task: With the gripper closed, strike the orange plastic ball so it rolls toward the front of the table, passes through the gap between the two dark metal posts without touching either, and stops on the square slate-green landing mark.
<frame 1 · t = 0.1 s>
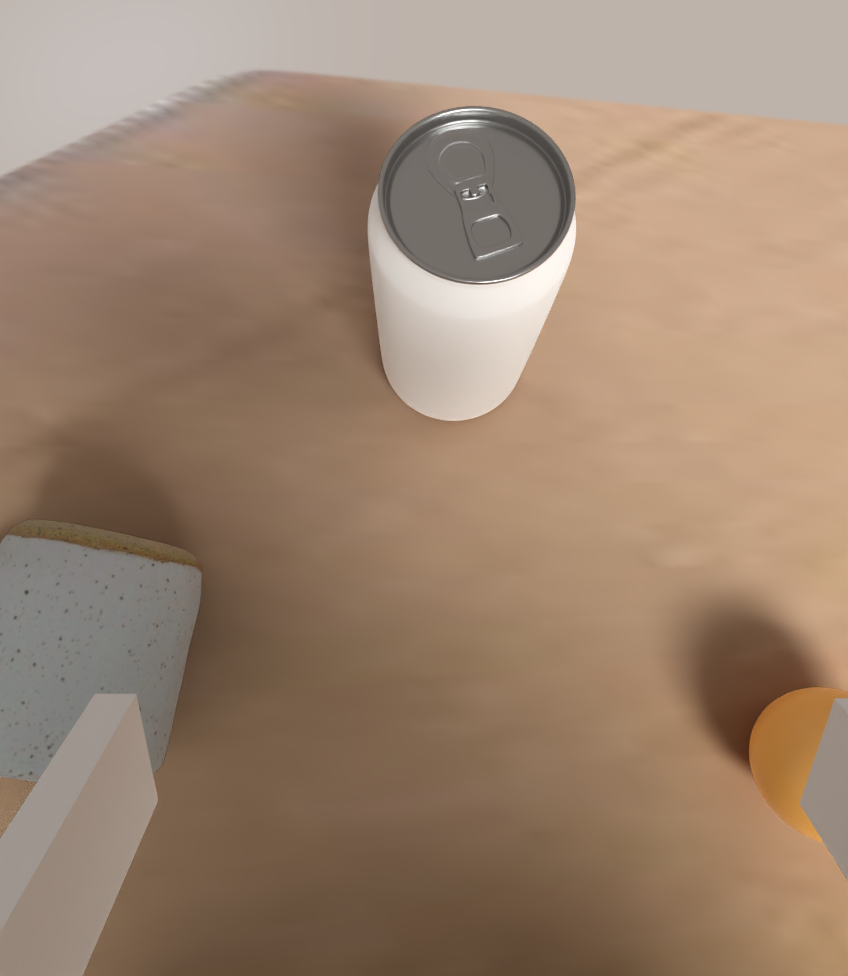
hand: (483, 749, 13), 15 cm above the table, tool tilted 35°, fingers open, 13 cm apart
can: (451, 358, 31), on the table
ball: (831, 764, 25), on the table
grey lying cylinder: (95, 642, 28), on the table
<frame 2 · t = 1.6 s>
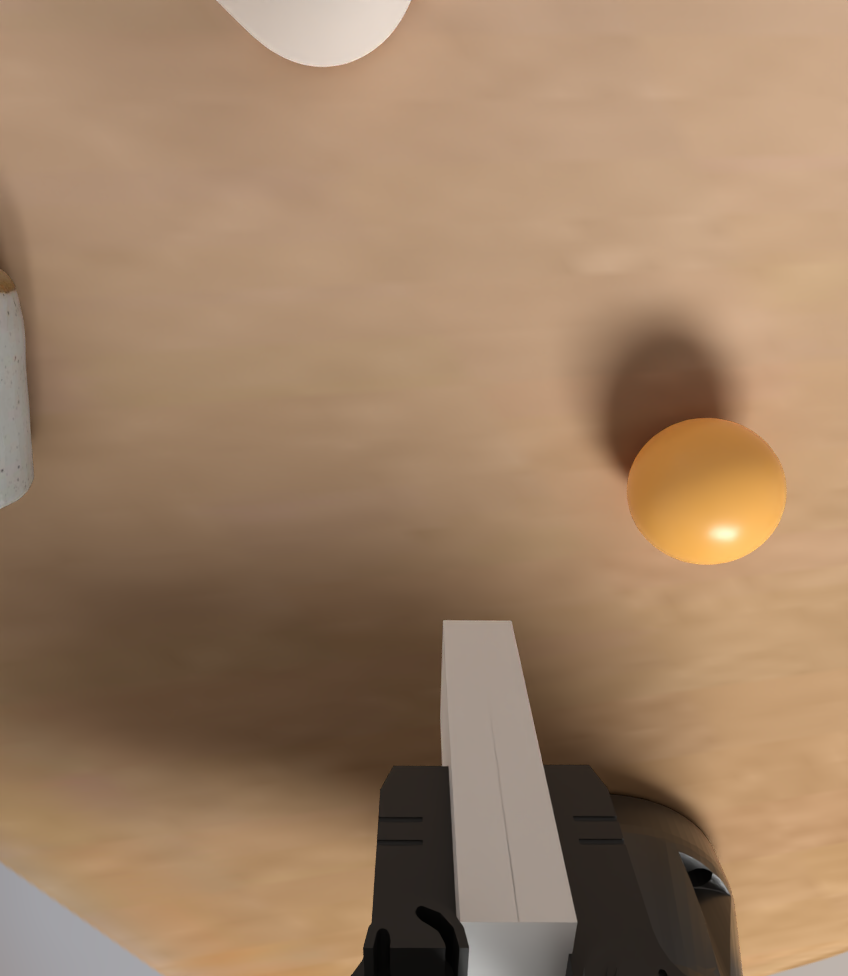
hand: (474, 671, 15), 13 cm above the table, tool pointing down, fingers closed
ball: (703, 491, 25), on the table
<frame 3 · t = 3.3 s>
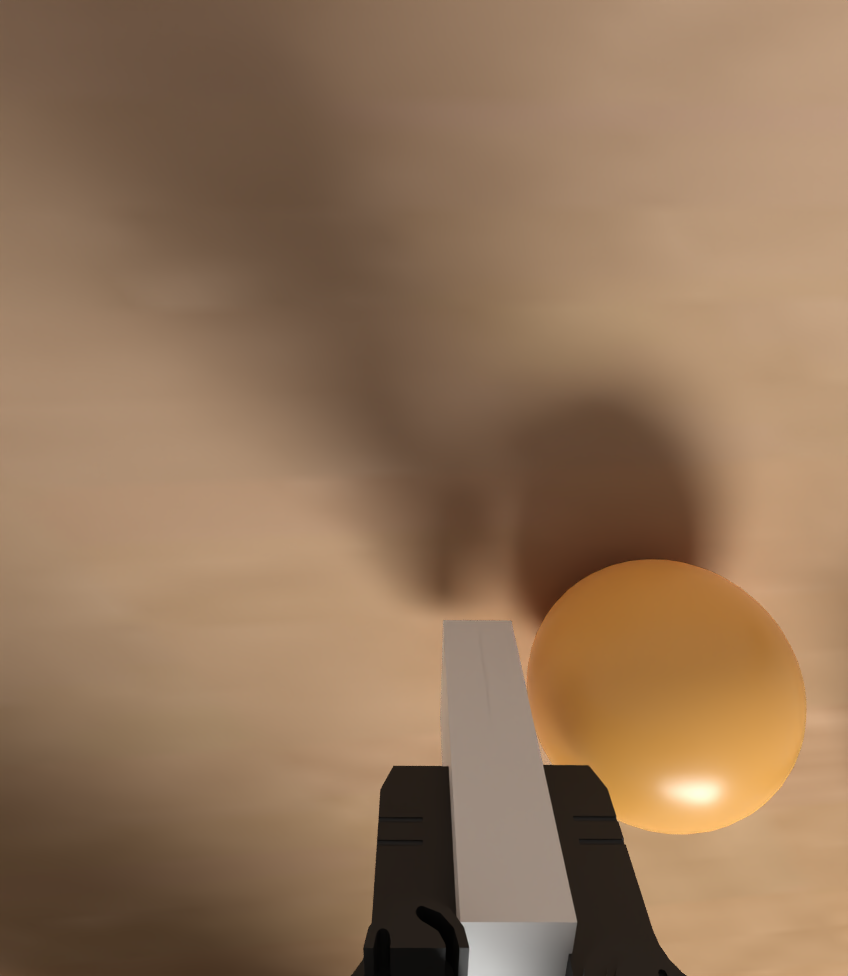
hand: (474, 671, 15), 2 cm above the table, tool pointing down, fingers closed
ball: (657, 688, 14), on the table
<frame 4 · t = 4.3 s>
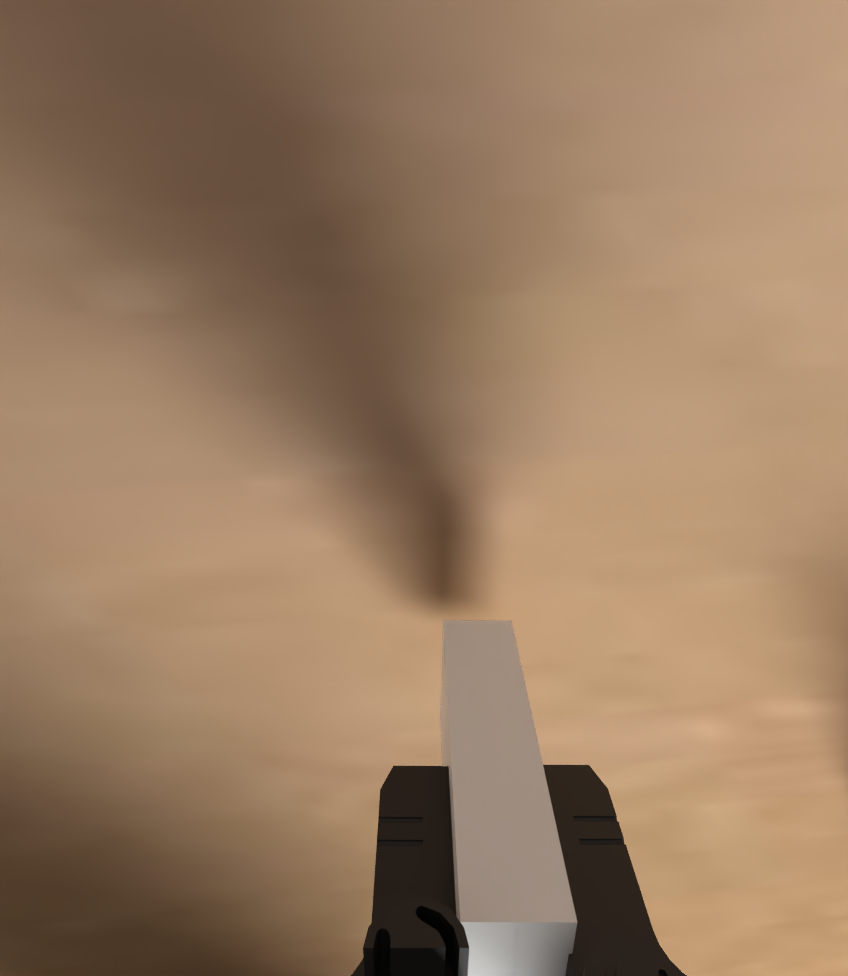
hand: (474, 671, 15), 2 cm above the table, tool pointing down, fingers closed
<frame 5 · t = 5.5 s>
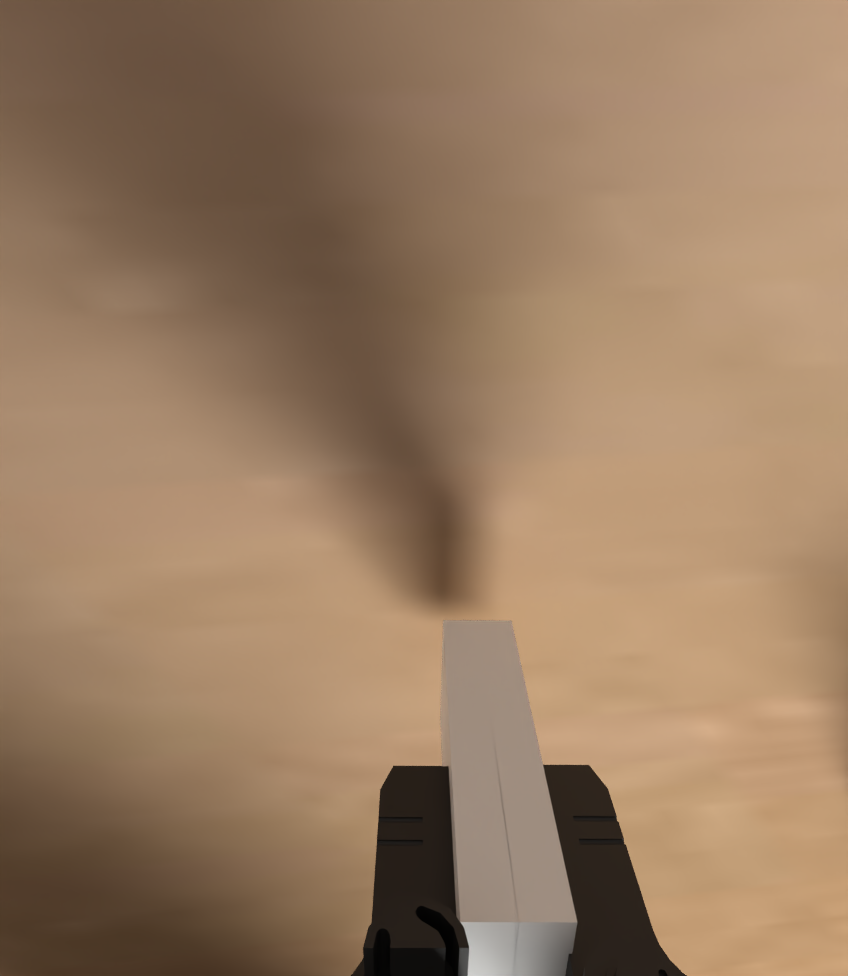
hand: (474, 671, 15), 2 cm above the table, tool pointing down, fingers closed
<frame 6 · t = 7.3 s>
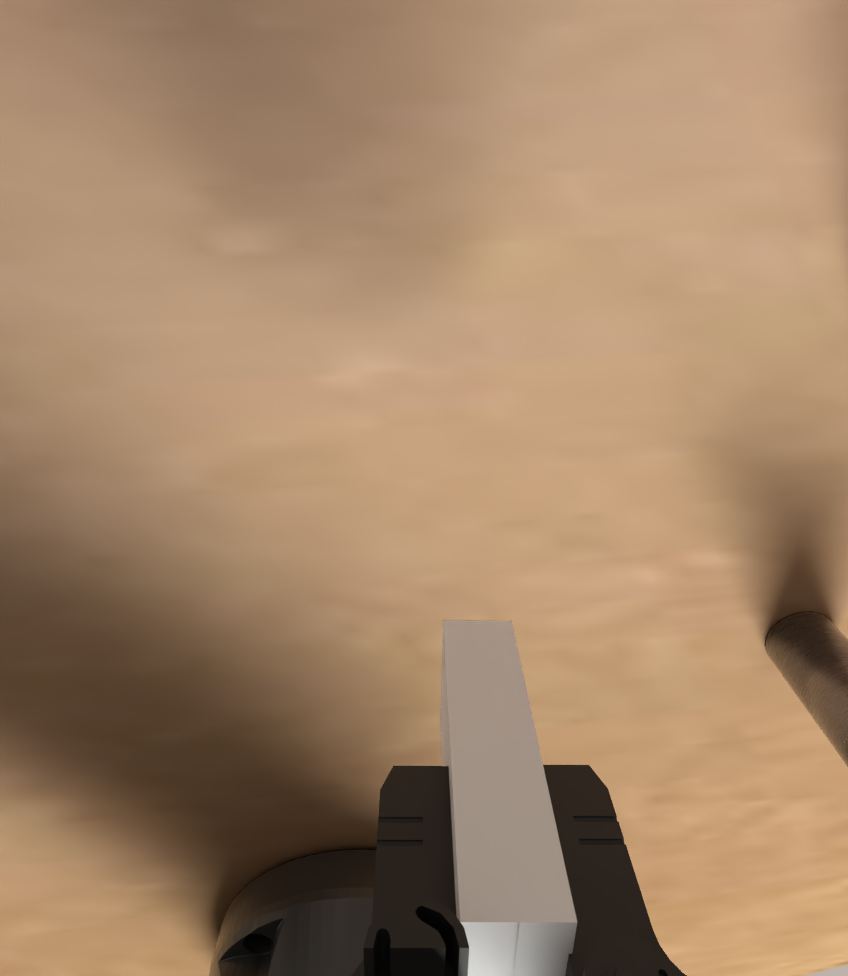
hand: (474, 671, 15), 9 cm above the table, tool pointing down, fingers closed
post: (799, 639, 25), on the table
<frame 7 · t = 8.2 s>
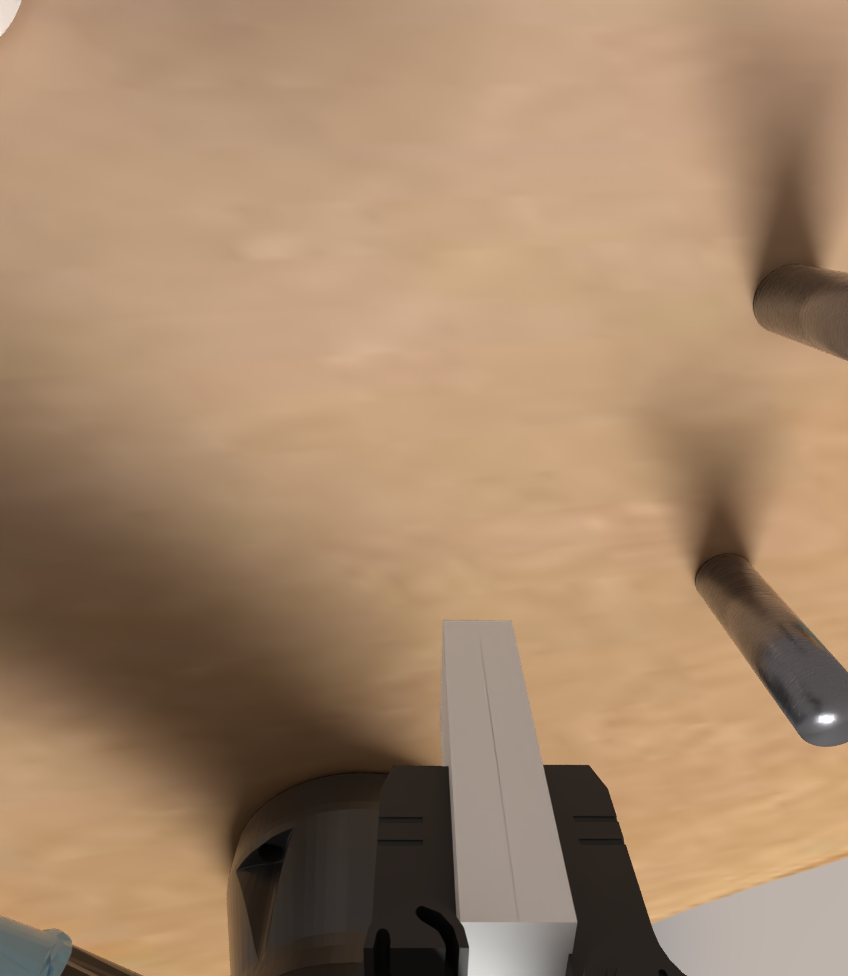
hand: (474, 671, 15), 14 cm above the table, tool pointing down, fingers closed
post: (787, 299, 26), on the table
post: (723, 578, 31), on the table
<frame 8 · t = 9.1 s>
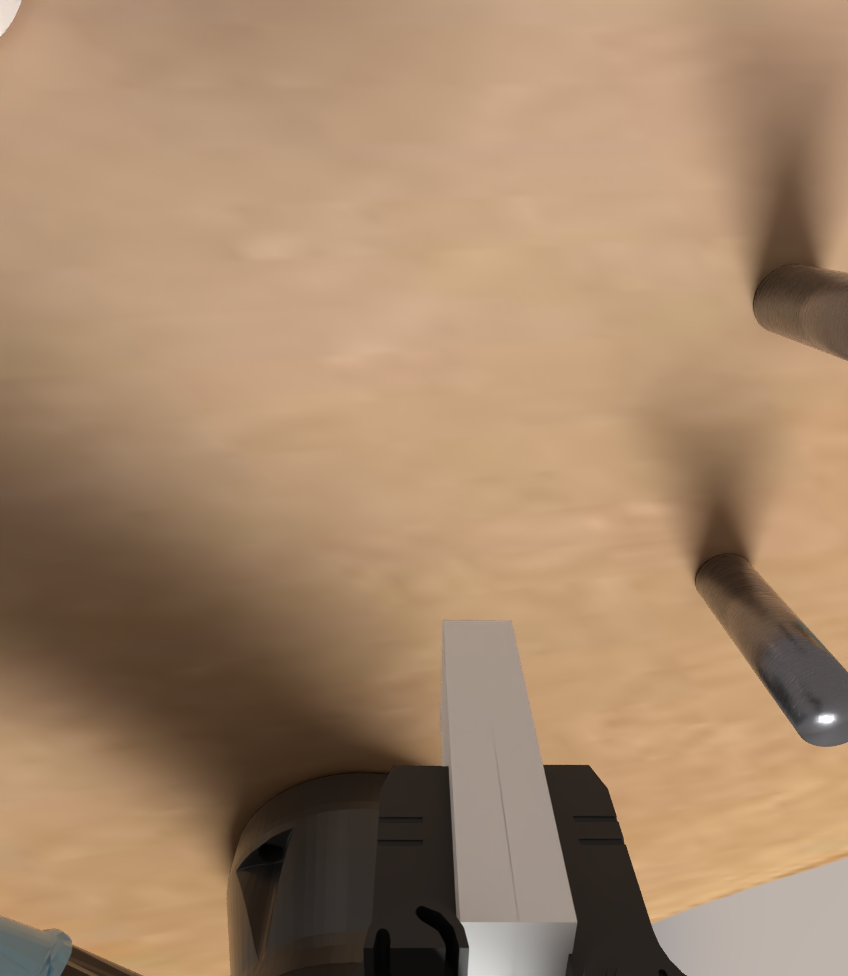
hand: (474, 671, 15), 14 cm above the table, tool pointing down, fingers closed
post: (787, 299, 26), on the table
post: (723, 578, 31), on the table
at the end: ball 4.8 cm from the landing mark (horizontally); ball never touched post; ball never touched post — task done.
